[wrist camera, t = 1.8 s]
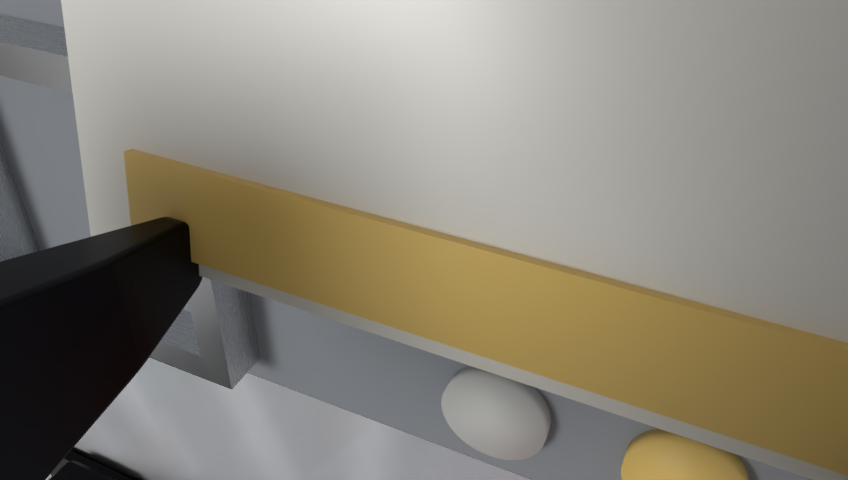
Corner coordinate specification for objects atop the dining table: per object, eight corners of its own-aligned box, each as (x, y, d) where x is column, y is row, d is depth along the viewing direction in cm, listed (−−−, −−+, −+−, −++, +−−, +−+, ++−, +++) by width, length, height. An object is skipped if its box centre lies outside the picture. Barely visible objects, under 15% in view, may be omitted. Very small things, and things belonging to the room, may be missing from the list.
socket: (260, 358, 19) (231, 389, 18) (31, 274, 22) (-3, 298, 21) (213, 58, 14) (171, 80, 13) (-72, -2, 17) (-123, 13, 16)
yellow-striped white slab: (1084, 501, 8) (1135, 596, 7) (147, 213, 12) (82, 243, 11) (1730, -475, 4) (2061, -611, 3) (94, -397, 9) (-8, -444, 8)
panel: (866, 556, 15) (873, 717, 13) (36, 260, 23) (-61, 324, 21) (1682, -694, 6) (2397, -1050, 3) (-232, -473, 13) (-476, -520, 11)
